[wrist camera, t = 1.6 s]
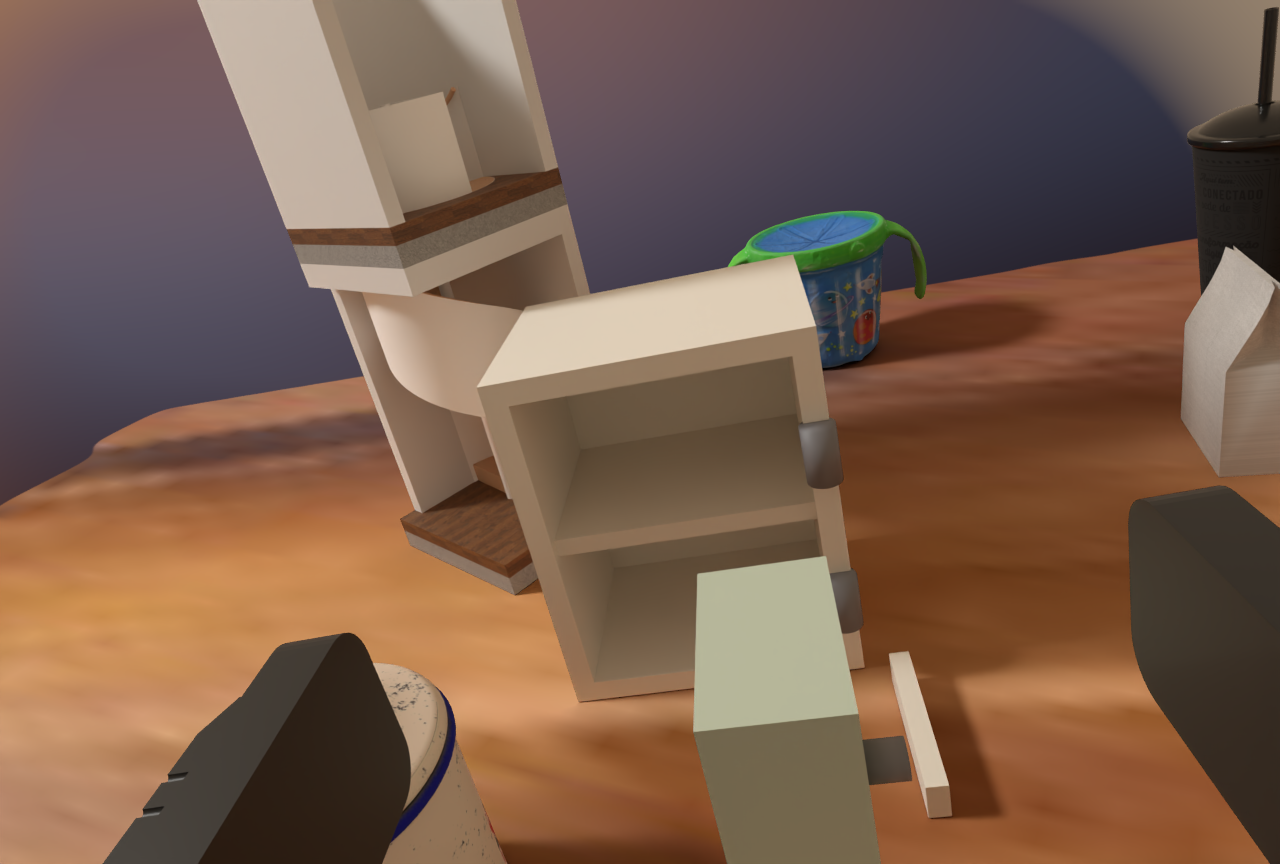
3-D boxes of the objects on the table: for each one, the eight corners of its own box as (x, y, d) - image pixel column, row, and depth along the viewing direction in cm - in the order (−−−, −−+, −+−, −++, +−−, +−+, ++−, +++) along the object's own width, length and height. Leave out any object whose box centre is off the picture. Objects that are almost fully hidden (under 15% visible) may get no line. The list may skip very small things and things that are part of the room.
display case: (410, 545, 57) (178, -49, 43) (532, 469, 64) (365, -72, 49) (515, 595, 50) (273, -113, 35) (642, 503, 56) (482, -131, 41)
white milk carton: (1218, 477, 45) (1231, 292, 41) (1180, 418, 51) (1188, 251, 47) (1303, 472, 44) (1325, 281, 40) (1254, 412, 50) (1269, 240, 46)
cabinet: (549, 852, 33) (413, 491, 27) (602, 575, 49) (525, 306, 43) (952, 816, 31) (912, 409, 24) (869, 537, 47) (832, 246, 40)
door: (780, 1073, 25) (693, 731, 19) (768, 882, 30) (697, 574, 25) (948, 1066, 24) (906, 708, 19) (905, 871, 29) (862, 550, 24)
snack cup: (728, 391, 69) (703, 266, 64) (742, 341, 78) (722, 229, 74) (937, 367, 64) (926, 231, 60) (927, 317, 73) (916, 196, 69)
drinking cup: (1179, 361, 57) (1193, 30, 49) (1178, 318, 63) (1190, 15, 54) (1327, 359, 53) (1370, -1, 45) (1311, 313, 59) (1346, -13, 51)
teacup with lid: (566, 852, 33) (475, 604, 28) (444, 1120, 26) (292, 846, 21) (319, 813, 38) (204, 594, 33) (154, 1030, 30) (-26, 788, 25)
